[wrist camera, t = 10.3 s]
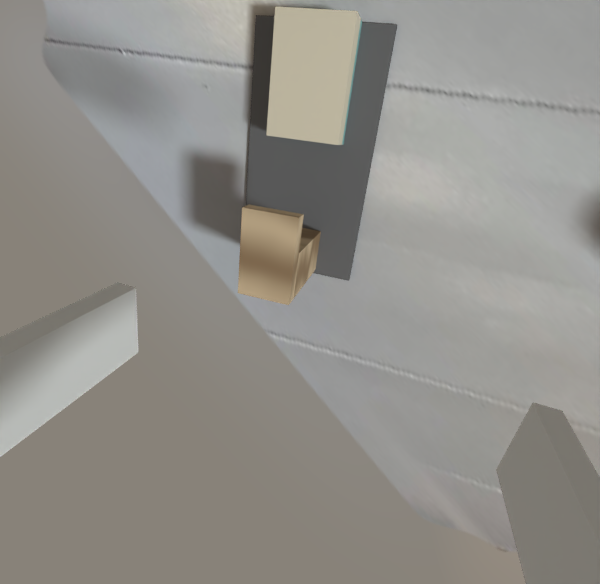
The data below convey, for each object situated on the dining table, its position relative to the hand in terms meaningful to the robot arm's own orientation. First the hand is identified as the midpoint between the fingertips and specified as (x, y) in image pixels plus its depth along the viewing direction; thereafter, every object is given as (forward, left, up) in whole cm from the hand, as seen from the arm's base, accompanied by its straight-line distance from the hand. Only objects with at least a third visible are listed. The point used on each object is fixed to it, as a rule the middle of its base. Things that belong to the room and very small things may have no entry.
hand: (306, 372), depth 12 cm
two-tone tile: (-11, -8, -26) cm, 29 cm away
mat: (-4, -8, -29) cm, 30 cm away
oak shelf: (+4, -8, -29) cm, 30 cm away
